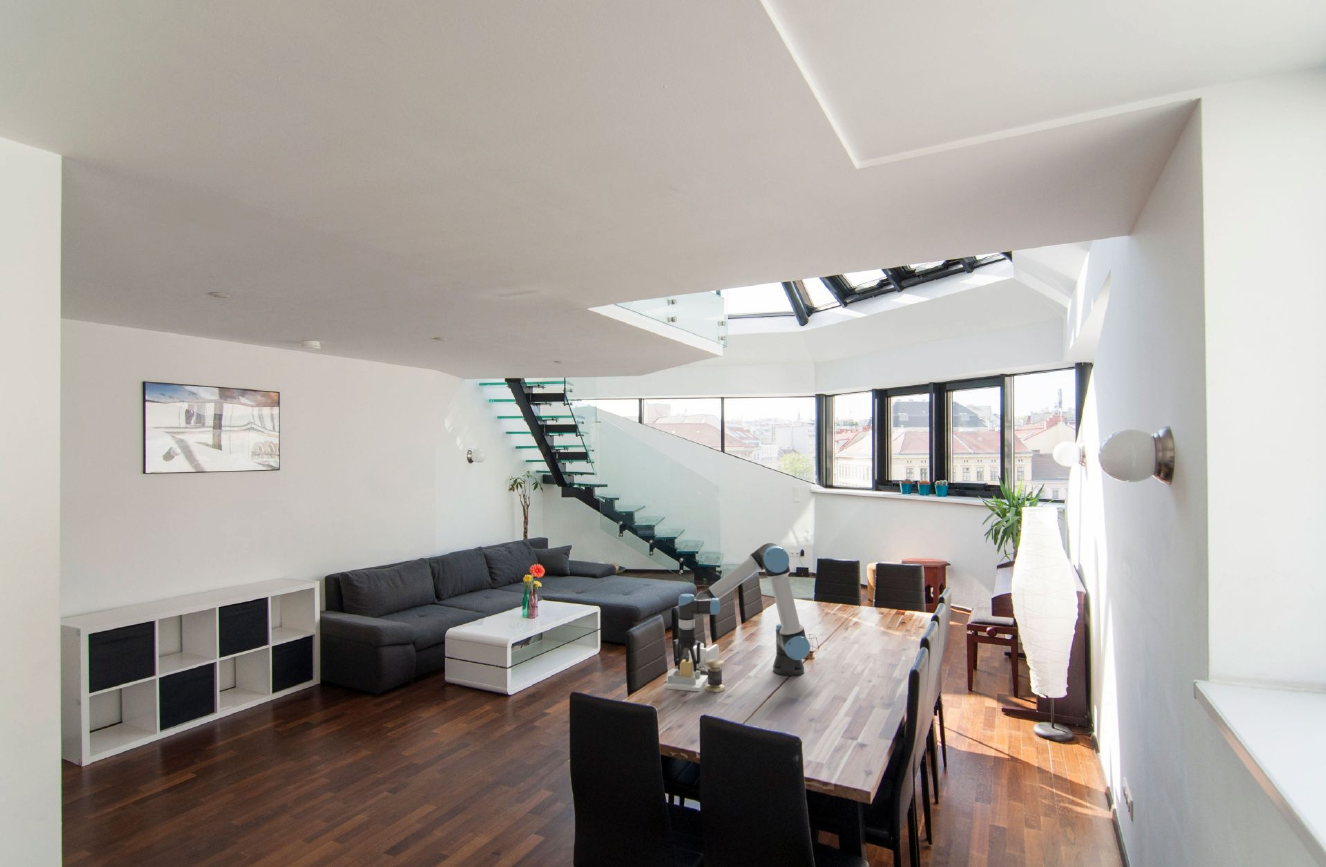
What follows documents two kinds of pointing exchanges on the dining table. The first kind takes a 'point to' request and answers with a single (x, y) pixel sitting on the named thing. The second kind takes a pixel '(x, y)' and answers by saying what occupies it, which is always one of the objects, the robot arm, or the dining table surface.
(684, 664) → the yellow bottle
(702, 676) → the grey square tray
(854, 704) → the dining table surface
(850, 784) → the dining table surface
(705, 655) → the cable organizer
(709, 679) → the bobbin
